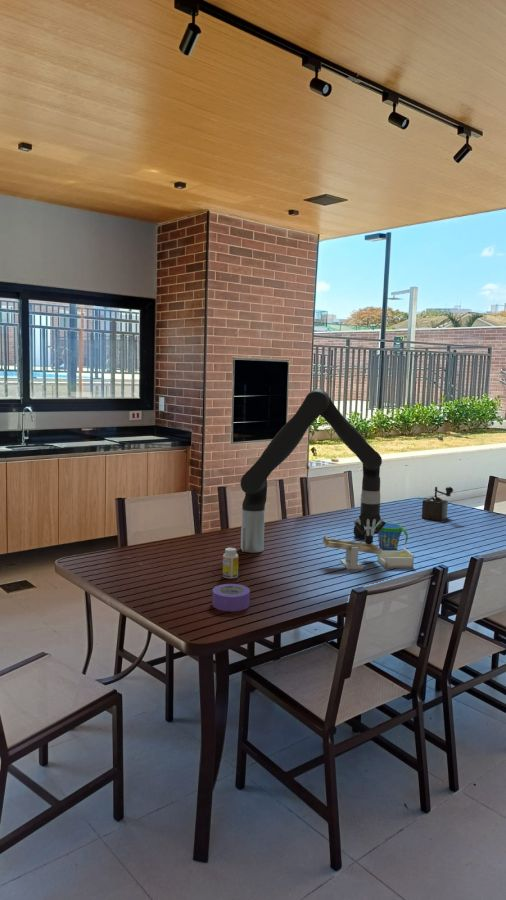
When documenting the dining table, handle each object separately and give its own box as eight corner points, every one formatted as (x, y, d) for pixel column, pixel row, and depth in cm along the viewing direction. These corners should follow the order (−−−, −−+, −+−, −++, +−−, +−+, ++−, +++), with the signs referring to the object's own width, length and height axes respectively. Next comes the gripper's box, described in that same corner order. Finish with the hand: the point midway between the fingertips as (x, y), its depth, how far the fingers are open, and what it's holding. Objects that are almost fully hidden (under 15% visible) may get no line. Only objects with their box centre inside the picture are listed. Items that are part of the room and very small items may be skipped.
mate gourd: (368, 535, 297) (369, 514, 295) (369, 539, 289) (371, 518, 288) (352, 534, 297) (353, 513, 296) (353, 539, 290) (354, 517, 288)
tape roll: (240, 614, 196) (241, 598, 195) (206, 608, 200) (206, 592, 200) (255, 602, 207) (255, 586, 206) (221, 596, 211) (222, 581, 211)
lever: (326, 546, 245) (327, 539, 244) (319, 538, 256) (320, 531, 256) (381, 554, 248) (382, 547, 247) (372, 546, 259) (373, 539, 259)
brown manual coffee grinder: (420, 518, 336) (422, 484, 334) (428, 514, 345) (430, 481, 342) (449, 523, 327) (451, 487, 325) (457, 519, 336) (459, 485, 333)
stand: (347, 569, 244) (348, 548, 243) (340, 560, 255) (341, 540, 254) (362, 568, 245) (363, 548, 244) (355, 560, 256) (355, 540, 255)
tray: (385, 568, 246) (386, 555, 246) (377, 560, 256) (378, 548, 256) (413, 567, 248) (413, 555, 247) (404, 560, 257) (404, 548, 257)
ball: (405, 564, 251) (398, 560, 250) (402, 562, 254) (396, 558, 253) (410, 557, 251) (403, 553, 250) (407, 555, 254) (400, 551, 253)
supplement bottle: (237, 574, 234) (238, 546, 233) (238, 579, 229) (239, 551, 228) (222, 574, 234) (222, 546, 233) (222, 579, 228) (223, 551, 227)
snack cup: (409, 549, 275) (411, 525, 274) (402, 554, 266) (403, 530, 265) (374, 543, 282) (375, 520, 281) (366, 548, 273) (367, 525, 272)
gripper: (356, 503, 250) (355, 547, 252) (389, 503, 251) (387, 546, 253) (351, 499, 257) (349, 542, 259) (383, 499, 259) (381, 541, 261)
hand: (368, 544), depth 256 cm, fingers closed
